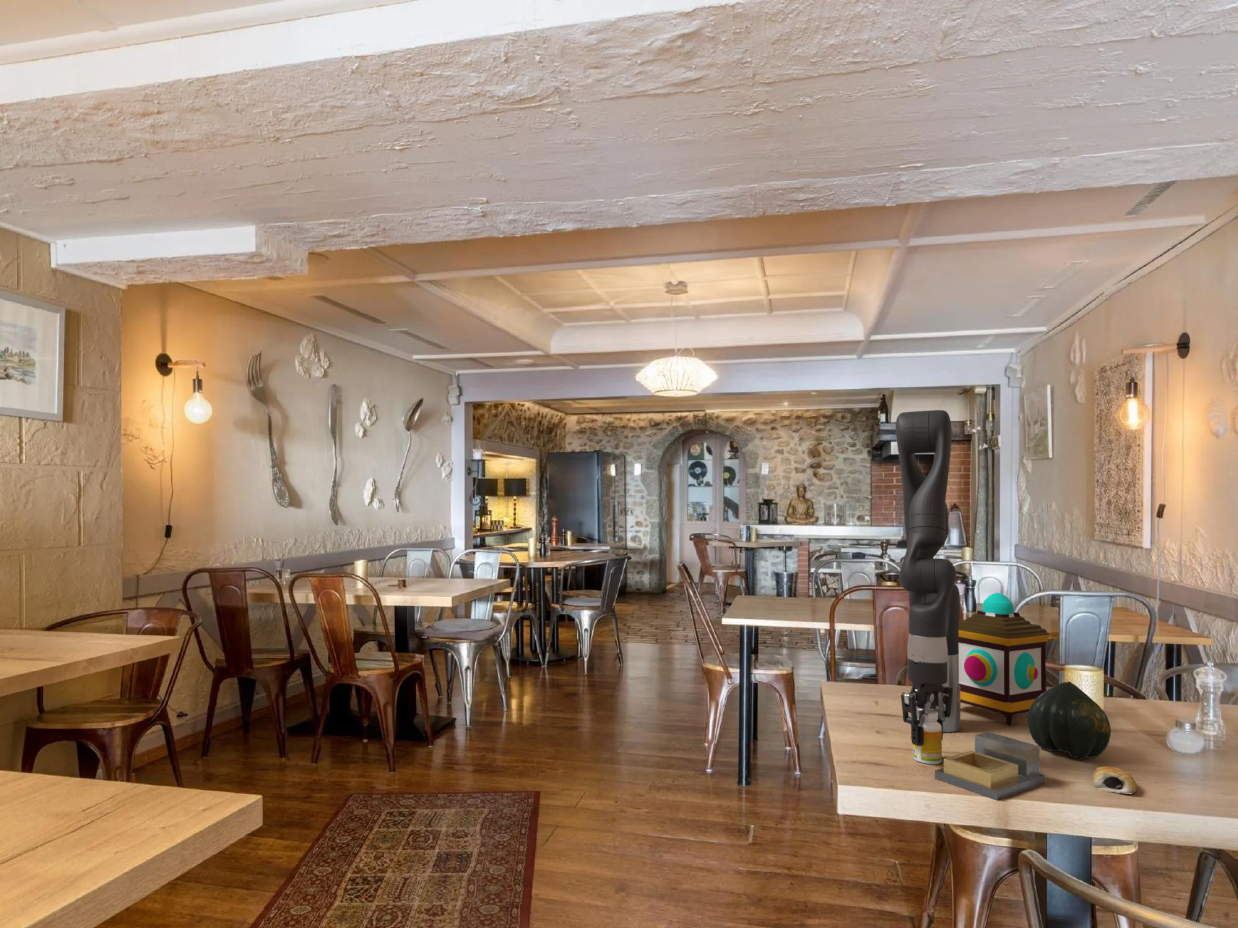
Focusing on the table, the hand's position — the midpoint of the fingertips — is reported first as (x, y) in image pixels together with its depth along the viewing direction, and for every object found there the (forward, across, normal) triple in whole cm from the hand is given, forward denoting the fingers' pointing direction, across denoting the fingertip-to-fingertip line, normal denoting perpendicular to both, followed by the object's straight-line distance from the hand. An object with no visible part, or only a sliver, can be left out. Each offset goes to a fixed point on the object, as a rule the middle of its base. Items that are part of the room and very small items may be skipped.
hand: (927, 741), depth 151 cm
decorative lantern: (+4, -47, -12) cm, 49 cm away
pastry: (+4, -18, +26) cm, 32 cm away
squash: (+4, -31, +12) cm, 33 cm away
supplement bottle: (+4, 0, 0) cm, 4 cm away
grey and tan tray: (+4, 0, +13) cm, 13 cm away
